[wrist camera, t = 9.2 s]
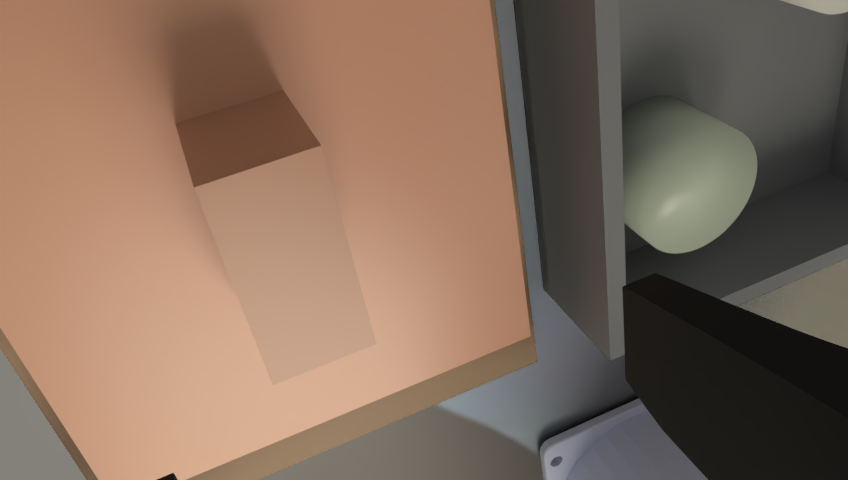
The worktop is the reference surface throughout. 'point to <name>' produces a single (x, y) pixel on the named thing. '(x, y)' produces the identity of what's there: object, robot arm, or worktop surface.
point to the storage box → (683, 146)
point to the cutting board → (246, 470)
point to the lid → (248, 215)
